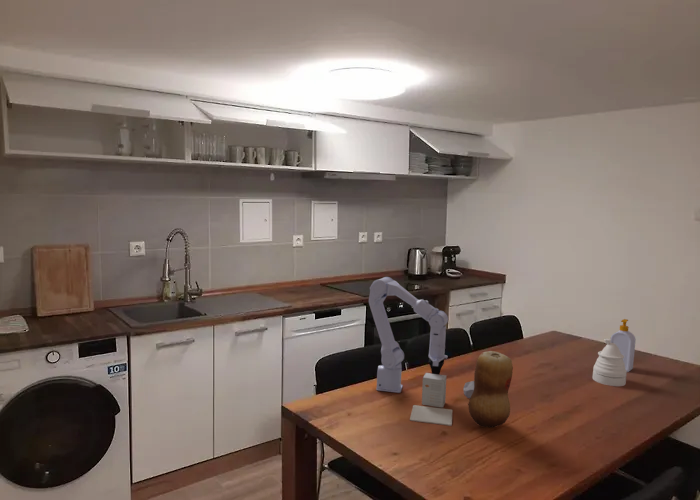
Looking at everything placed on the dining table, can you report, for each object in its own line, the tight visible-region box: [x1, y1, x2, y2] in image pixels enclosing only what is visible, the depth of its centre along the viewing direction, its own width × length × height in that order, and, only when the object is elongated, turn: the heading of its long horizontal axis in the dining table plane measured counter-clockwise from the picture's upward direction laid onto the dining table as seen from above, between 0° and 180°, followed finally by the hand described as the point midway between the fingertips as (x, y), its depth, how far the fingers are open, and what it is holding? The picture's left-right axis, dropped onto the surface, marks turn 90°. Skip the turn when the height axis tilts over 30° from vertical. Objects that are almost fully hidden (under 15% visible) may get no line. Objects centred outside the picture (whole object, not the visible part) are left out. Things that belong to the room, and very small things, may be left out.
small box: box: [421, 372, 447, 409], centre depth 190 cm, size 8×6×10 cm
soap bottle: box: [609, 318, 636, 373], centre depth 238 cm, size 9×7×23 cm
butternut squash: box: [467, 350, 514, 428], centre depth 172 cm, size 14×13×25 cm
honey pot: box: [592, 338, 628, 387], centre depth 221 cm, size 13×13×18 cm
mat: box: [409, 404, 453, 427], centre depth 180 cm, size 14×12×1 cm
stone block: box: [463, 380, 474, 399], centre depth 202 cm, size 12×5×10 cm
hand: (435, 378), depth 195 cm, fingers closed
